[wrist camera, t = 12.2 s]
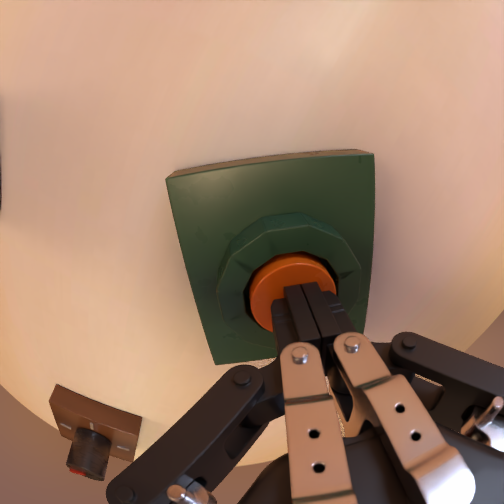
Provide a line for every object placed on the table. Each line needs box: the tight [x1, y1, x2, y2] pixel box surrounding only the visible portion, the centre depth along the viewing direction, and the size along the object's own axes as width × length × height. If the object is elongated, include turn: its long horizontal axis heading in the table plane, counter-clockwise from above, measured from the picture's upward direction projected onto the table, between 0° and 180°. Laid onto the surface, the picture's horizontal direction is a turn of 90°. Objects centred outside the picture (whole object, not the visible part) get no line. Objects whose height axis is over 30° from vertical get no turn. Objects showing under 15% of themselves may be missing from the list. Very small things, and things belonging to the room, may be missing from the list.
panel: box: [49, 384, 142, 462], centre depth 23 cm, size 10×10×3 cm
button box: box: [165, 149, 375, 365], centre depth 15 cm, size 12×10×4 cm
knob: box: [66, 428, 112, 481], centre depth 19 cm, size 4×4×5 cm
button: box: [248, 251, 336, 332], centre depth 13 cm, size 4×4×2 cm
